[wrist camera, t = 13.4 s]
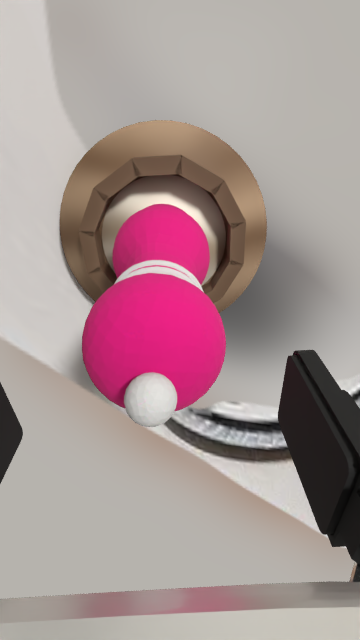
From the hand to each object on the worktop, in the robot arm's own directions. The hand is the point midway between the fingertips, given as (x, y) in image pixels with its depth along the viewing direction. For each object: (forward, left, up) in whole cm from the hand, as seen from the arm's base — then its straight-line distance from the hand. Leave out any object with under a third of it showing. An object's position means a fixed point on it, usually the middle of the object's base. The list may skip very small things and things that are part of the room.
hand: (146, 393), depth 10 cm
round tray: (0, 0, -21) cm, 21 cm away
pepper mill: (0, 0, -19) cm, 19 cm away
